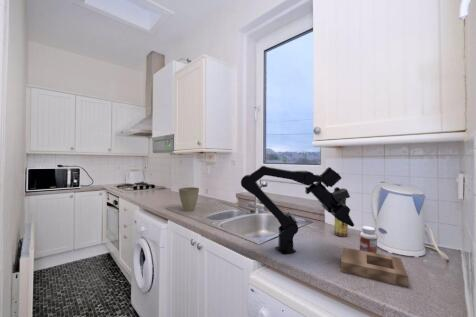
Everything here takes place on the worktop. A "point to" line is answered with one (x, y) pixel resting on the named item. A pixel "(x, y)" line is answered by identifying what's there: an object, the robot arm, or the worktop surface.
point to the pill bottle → (368, 240)
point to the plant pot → (189, 197)
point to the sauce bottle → (341, 224)
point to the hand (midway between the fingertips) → (348, 222)
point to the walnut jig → (374, 266)
